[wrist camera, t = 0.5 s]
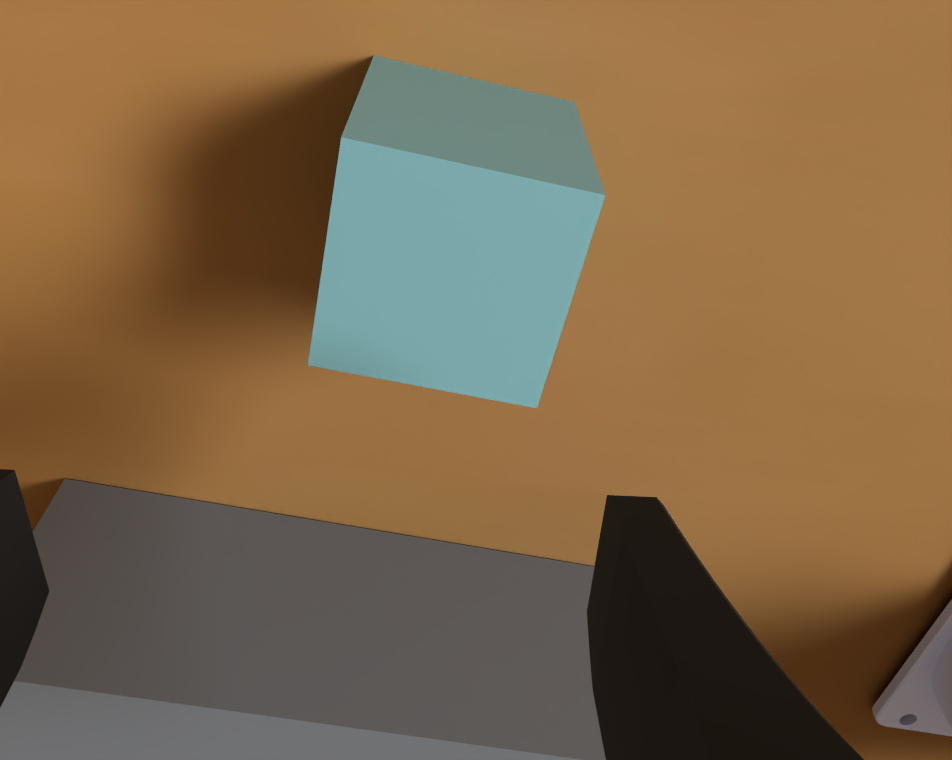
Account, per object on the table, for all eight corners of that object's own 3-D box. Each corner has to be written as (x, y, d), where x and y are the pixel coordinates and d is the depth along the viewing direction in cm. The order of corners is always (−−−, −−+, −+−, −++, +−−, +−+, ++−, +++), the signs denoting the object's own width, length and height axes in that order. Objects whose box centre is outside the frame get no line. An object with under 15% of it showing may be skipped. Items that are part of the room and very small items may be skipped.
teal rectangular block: (574, 101, 18) (604, 195, 13) (523, 279, 20) (536, 408, 16) (374, 54, 17) (341, 137, 13) (343, 242, 19) (307, 365, 15)
